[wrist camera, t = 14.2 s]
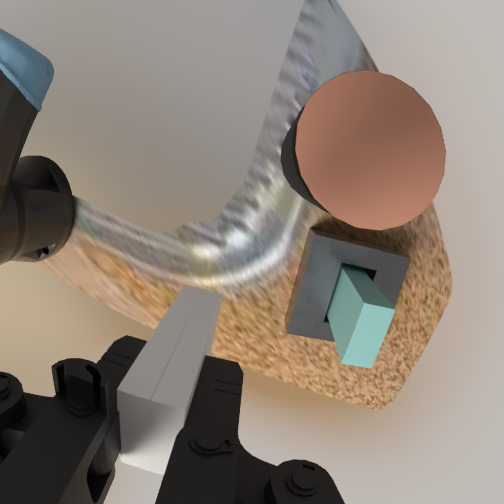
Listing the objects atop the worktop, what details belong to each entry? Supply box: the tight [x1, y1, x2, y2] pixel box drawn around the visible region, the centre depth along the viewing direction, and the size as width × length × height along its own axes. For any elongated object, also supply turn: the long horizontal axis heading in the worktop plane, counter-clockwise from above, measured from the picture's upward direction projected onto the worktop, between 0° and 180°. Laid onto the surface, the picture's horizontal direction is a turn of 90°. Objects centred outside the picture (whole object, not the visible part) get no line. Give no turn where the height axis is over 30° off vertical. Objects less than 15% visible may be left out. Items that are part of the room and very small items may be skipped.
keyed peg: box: [326, 263, 395, 368], centre depth 33 cm, size 6×3×14 cm, turn 167°
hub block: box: [285, 228, 410, 342], centre depth 37 cm, size 12×12×4 cm
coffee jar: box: [281, 70, 446, 230], centre depth 27 cm, size 11×11×18 cm
